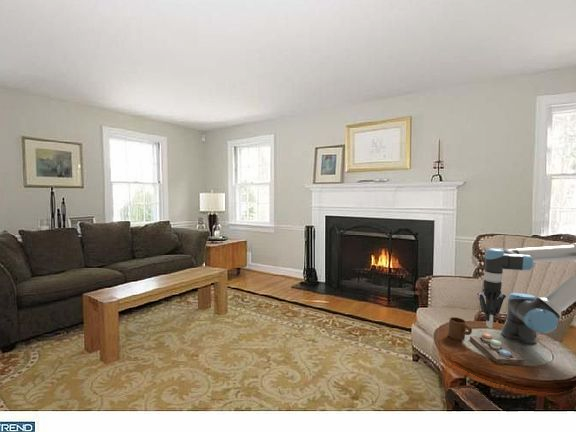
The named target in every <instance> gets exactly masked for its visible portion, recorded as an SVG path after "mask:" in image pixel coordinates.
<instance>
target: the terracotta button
mask: <svg viewBox="0 0 576 432" xmlns="http://www.w3.org/2000/svg"><path fill="white" fill-rule="evenodd" d="M481 336H482V341H483V342H486V343H490V340H491V339H492V337H493V334H490V333H487V332H482V333H481Z"/></svg>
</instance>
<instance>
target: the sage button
mask: <svg viewBox="0 0 576 432" xmlns="http://www.w3.org/2000/svg"><path fill="white" fill-rule="evenodd" d="M498 340H499V339H497V340H493V339H492V340H490V347H491V348H492V349H493V350H500V346H501V343H502V342H501V341H500V340H499V341H498Z"/></svg>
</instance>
